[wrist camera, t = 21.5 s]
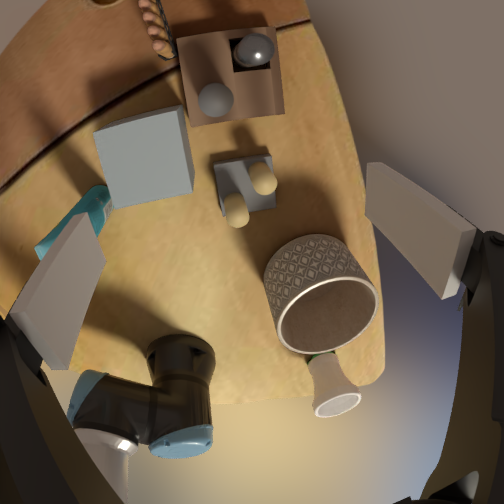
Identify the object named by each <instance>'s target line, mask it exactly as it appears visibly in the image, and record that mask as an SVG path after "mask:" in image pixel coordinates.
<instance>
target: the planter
mask: <svg viewBox="0 0 504 504" xmlns="http://www.w3.org/2000/svg"><path fill="white" fill-rule="evenodd" d="M264 287H265V291H266V295H267V298H268V302H269V306H270V309H271V313H272V317H273V321H274V324H275V328H276V332H277V335H278V338H279V340H280V341H281V343H282V344H283V345H284V346H285V347H286V348H288V349H290V350H292V351H294V352H297V353H302V354H319V353H325V352H329V351H332V350H335V349H338V348H340V347H342V346H344V345H346V344H348V343H350V342H351V341H353V340H354V339H356V338H357V337H358V336H359V335H361V334H362V333H363V332H364V331H365V330H366V329H367V328H368V326H369V325H370V324H371V322H372V321H373V319H374V317H375V316H376V313H377V310H378V306H379V297H378V292H377V291H376V289H375V287H374V285H373V284H372V282H371V281H370V279H369V278H368V277H367V275H366V274H365V272H364V271H363V269H362V268H361V266H360V265H359V263H358V262H357V261H356V259H355V258H354V256H353V255H352V253H351V252H350V251H349V249H348V248H347V247H346V245H345V244H344V243H343V242H341V241H340V240H339V239H337V238H335V237H333V236H329V235H324V234H311V235H306V236H302V237H299V238H296V239H294V240H292V241H290V242H288V243H287V244H285V245H284V246H282V247H281V248H280V249H279V250H278V251H277V252H276V253H275V254H274V255H273V256H272V258H271V259H270V261H269V262H268V264H267V267H266V269H265V273H264Z"/></svg>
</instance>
